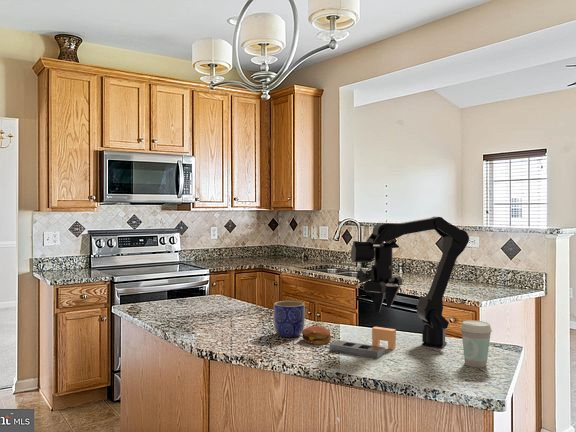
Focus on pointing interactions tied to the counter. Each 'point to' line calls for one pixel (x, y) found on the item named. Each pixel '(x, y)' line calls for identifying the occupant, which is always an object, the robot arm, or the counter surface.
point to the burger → (316, 335)
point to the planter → (289, 318)
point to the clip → (384, 336)
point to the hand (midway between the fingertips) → (383, 309)
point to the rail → (357, 349)
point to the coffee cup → (475, 342)
